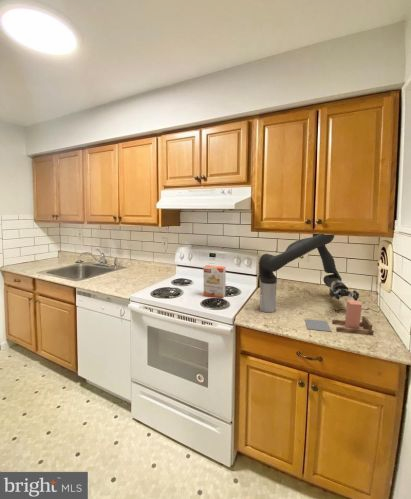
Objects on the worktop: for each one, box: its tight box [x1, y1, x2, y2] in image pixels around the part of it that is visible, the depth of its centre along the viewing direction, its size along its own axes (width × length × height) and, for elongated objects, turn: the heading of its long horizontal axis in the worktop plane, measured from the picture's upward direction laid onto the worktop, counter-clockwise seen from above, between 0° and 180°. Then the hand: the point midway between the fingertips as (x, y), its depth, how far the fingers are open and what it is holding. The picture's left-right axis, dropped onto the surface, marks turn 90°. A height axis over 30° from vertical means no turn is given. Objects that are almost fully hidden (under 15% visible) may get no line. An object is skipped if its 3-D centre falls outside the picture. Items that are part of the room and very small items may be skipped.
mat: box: [304, 318, 333, 333], centre depth 132 cm, size 11×11×1 cm
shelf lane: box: [331, 315, 375, 336], centre depth 128 cm, size 16×9×5 cm, turn 77°
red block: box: [344, 299, 363, 329], centre depth 127 cm, size 5×5×14 cm
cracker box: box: [203, 264, 227, 299], centre depth 172 cm, size 14×6×21 cm, turn 69°
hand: (347, 298), depth 137 cm, fingers open, 8 cm apart
